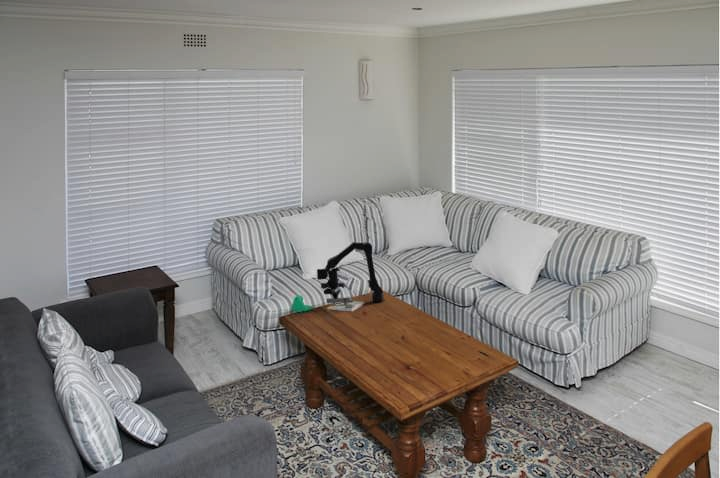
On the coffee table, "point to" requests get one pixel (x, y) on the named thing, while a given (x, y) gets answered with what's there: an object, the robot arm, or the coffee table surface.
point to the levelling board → (342, 307)
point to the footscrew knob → (340, 300)
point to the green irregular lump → (299, 304)
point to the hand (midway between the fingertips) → (335, 301)
